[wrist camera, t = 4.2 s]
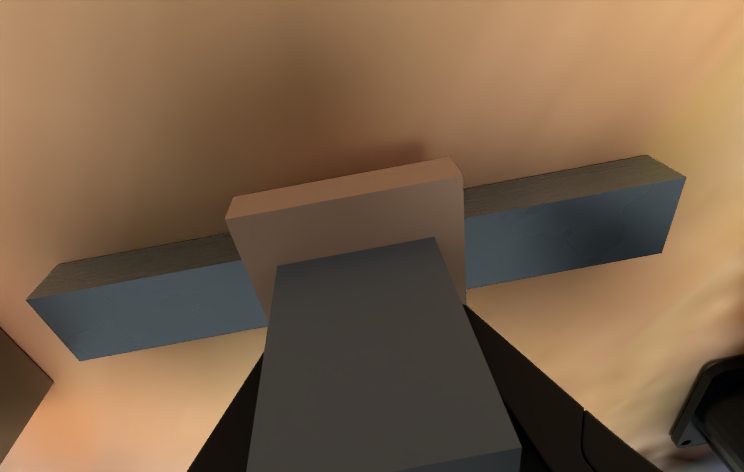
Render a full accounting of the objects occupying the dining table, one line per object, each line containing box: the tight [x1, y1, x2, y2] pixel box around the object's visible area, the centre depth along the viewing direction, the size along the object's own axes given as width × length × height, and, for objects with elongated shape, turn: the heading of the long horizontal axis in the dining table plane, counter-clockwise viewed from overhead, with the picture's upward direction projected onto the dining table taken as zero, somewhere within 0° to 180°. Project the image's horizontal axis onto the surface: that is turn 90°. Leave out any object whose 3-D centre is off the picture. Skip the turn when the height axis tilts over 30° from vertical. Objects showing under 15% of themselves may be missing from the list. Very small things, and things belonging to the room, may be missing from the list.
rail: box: [26, 155, 686, 361], centre depth 12 cm, size 2×18×2 cm, turn 99°
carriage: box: [225, 157, 522, 472], centre depth 9 cm, size 6×5×7 cm
